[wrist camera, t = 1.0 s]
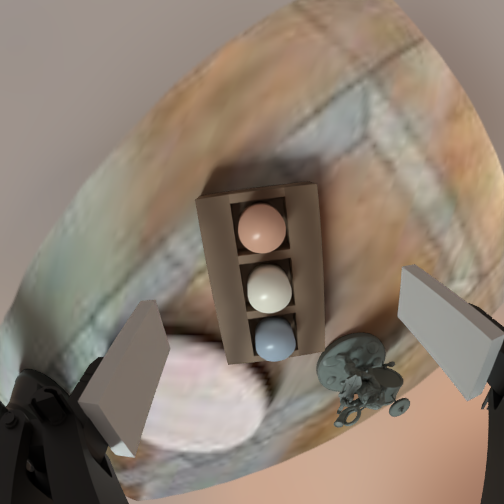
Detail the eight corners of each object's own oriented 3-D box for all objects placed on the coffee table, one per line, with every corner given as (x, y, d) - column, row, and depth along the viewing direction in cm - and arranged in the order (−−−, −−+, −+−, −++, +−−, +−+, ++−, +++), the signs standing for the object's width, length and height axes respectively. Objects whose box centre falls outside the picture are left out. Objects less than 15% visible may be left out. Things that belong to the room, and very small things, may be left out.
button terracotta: (241, 247, 30) (241, 256, 27) (235, 205, 29) (234, 210, 26) (283, 241, 30) (288, 250, 27) (279, 199, 29) (283, 203, 26)
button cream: (250, 302, 32) (250, 315, 29) (244, 265, 31) (244, 276, 28) (289, 297, 32) (293, 310, 29) (285, 260, 31) (290, 270, 28)
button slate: (257, 348, 34) (258, 363, 31) (252, 318, 33) (253, 332, 30) (292, 343, 34) (296, 358, 31) (290, 313, 33) (294, 327, 30)
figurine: (328, 330, 37) (356, 391, 25) (393, 333, 37) (432, 385, 26) (307, 386, 40) (323, 448, 28) (368, 386, 41) (394, 440, 29)
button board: (229, 348, 37) (228, 364, 34) (200, 195, 31) (195, 199, 28) (318, 336, 37) (324, 351, 33) (309, 181, 31) (317, 183, 27)
